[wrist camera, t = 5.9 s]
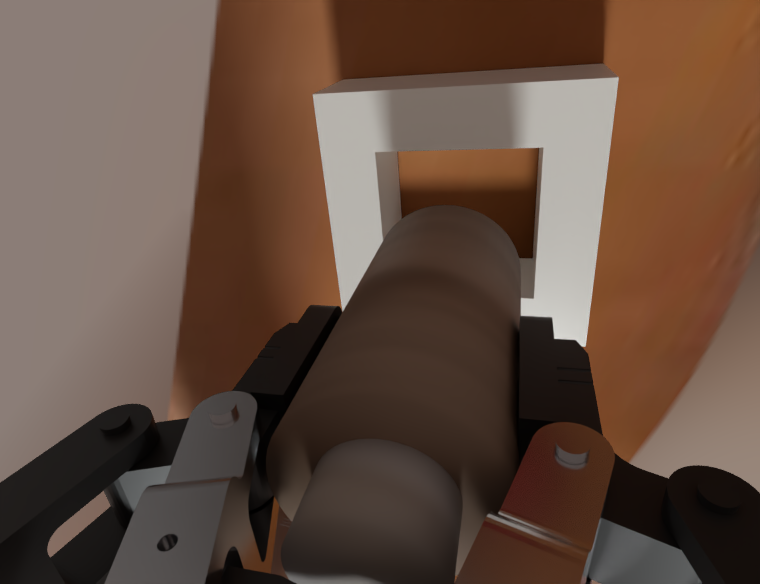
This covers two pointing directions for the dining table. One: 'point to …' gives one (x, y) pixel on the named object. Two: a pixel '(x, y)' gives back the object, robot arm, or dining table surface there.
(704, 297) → the dining table surface
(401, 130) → the holder
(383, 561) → the pepper mill
